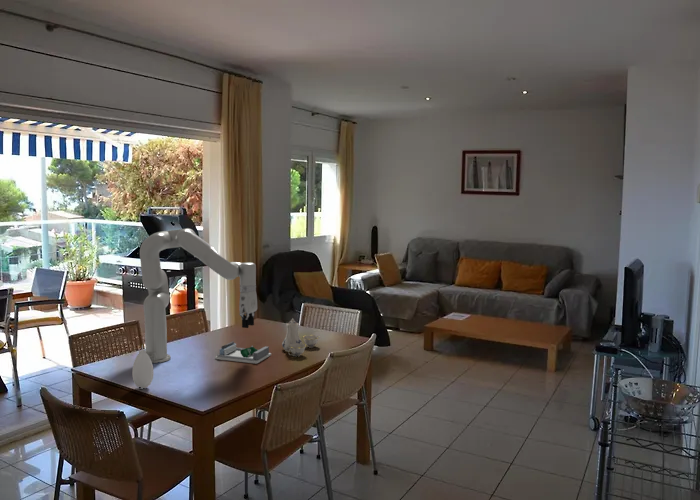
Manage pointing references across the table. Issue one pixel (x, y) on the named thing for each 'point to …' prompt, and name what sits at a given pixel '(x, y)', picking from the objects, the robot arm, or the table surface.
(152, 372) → the white tall teardrop piece
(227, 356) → the vise base
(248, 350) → the gaming controller
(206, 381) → the table surface
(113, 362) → the table surface
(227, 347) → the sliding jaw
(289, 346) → the chinaware
